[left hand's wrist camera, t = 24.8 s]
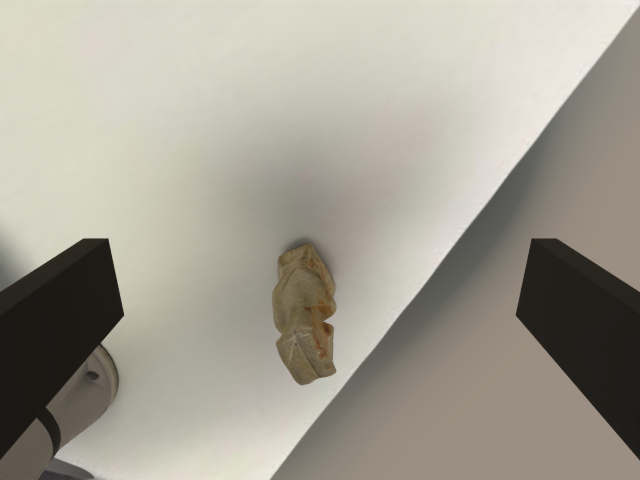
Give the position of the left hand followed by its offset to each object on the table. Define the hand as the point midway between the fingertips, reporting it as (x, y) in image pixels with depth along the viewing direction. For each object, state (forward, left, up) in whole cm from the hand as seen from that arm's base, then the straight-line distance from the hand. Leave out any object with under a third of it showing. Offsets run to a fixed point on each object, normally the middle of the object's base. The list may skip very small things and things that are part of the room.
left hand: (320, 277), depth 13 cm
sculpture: (-12, -5, -28) cm, 31 cm away
